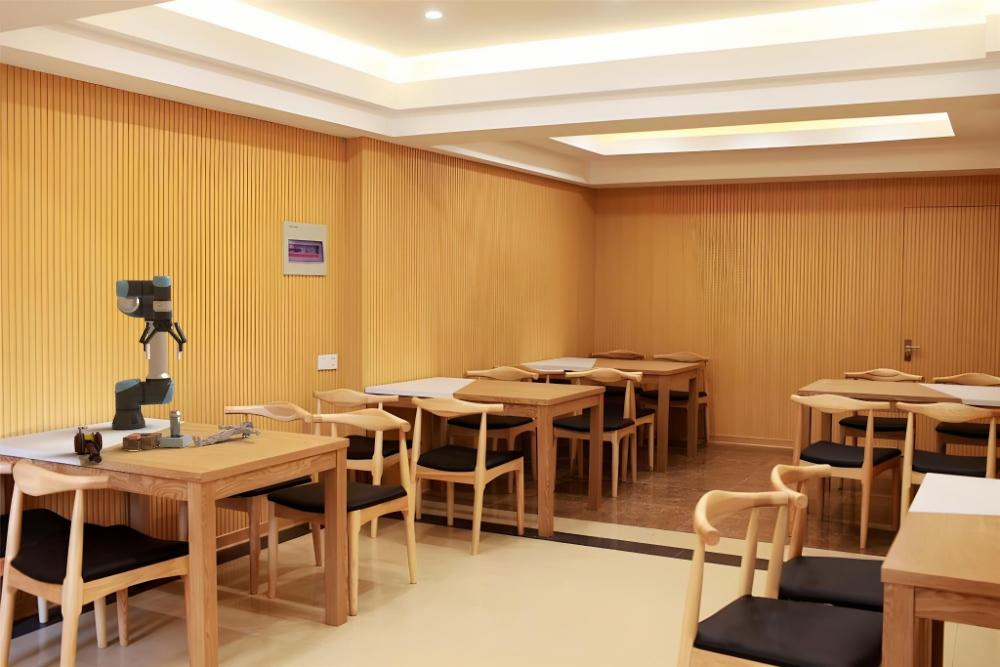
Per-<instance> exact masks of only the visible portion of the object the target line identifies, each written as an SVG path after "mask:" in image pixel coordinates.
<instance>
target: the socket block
mask: <svg viewBox="0 0 1000 667" xmlns="http://www.w3.org/2000/svg"><path fill="white" fill-rule="evenodd" d="M132 434H141V438H140V439H137V442H133V439H129V436H130V435H132ZM162 437H163V433H162V432H134V433H131V434H129V435H125V436H123V437H122V450H123V449H128V450H140V449H152V448H154V447H156V446H158V447H160V446H159V445H160V441H159V439H160V438H162ZM156 448H157V447H156ZM154 449H155V448H154ZM152 450H153V449H152ZM140 451H141V450H140Z"/></svg>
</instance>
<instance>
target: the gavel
mask: <svg viewBox="0 0 1000 667" xmlns="http://www.w3.org/2000/svg"><path fill="white" fill-rule="evenodd" d="M77 429H78V432H77V433H76V434H75V436H74V438H73V446H74V447H73V448H74V452H75V453H76V454H77V455H81V453H82V454H83V453H85V454H86V453H90V454H89V455H88V457H87V460H89V461H90V462H93V461H94V463H95V464H100V463H102V461H103V457H102V456H101V451H102V450H103V435H102V434H101V433H100V432H99V431H96V432H95V433H94V432H93V431H92V432H91V433H84V432H82V430H88V426H85V427H84V426H78V427H77Z"/></svg>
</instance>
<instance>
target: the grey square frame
mask: <svg viewBox="0 0 1000 667" xmlns="http://www.w3.org/2000/svg"><path fill="white" fill-rule="evenodd" d="M159 441H160V446H159V448H160V447H180V448H179V449H184V448H186V447H188V446H190V445H191V444H192V434H180V438H170V434H166V435H164V436H162V438H160V439H159ZM189 444H190V445H189ZM187 445H188V446H187ZM185 446H186V447H185ZM183 447H184V448H183Z"/></svg>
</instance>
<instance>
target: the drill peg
mask: <svg viewBox="0 0 1000 667" xmlns="http://www.w3.org/2000/svg"><path fill="white" fill-rule="evenodd" d="M169 425H170V426H169V428H170V429H169V430H170V432H169V435H170V438H180V435H181V410H170V411H169Z"/></svg>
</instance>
